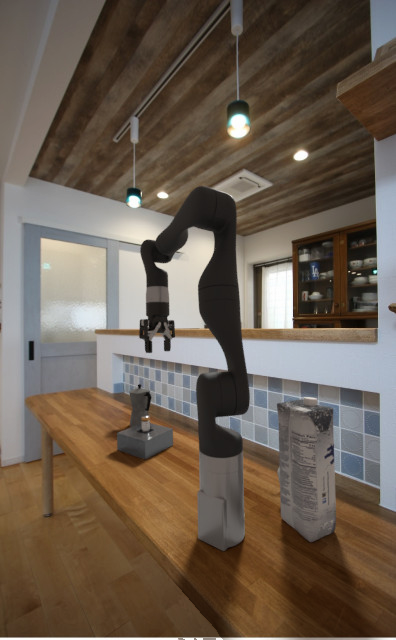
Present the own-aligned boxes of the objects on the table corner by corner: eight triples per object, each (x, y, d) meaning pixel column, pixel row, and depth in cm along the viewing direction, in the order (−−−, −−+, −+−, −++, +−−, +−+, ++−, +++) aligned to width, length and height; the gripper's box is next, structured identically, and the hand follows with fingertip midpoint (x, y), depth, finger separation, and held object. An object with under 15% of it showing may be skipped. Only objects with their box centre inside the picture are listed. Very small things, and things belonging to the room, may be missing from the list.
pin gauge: (145, 446, 103) (145, 418, 103) (140, 445, 104) (139, 417, 105) (151, 444, 105) (151, 416, 105) (145, 442, 107) (145, 414, 107)
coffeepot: (123, 424, 131) (122, 383, 132) (141, 419, 138) (140, 381, 138) (141, 432, 120) (140, 388, 120) (160, 427, 126) (159, 385, 127)
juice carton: (311, 549, 56) (307, 407, 56) (274, 517, 65) (271, 396, 66) (343, 534, 60) (339, 401, 60) (304, 506, 69) (301, 391, 70)
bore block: (145, 459, 95) (145, 441, 95) (117, 449, 103) (117, 432, 103) (173, 445, 106) (172, 428, 107) (145, 437, 114) (145, 422, 115)
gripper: (150, 299, 86) (151, 353, 86) (180, 302, 98) (181, 350, 97) (133, 301, 91) (133, 353, 90) (163, 304, 102) (164, 350, 102)
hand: (158, 352), depth 94 cm, fingers open, 8 cm apart
